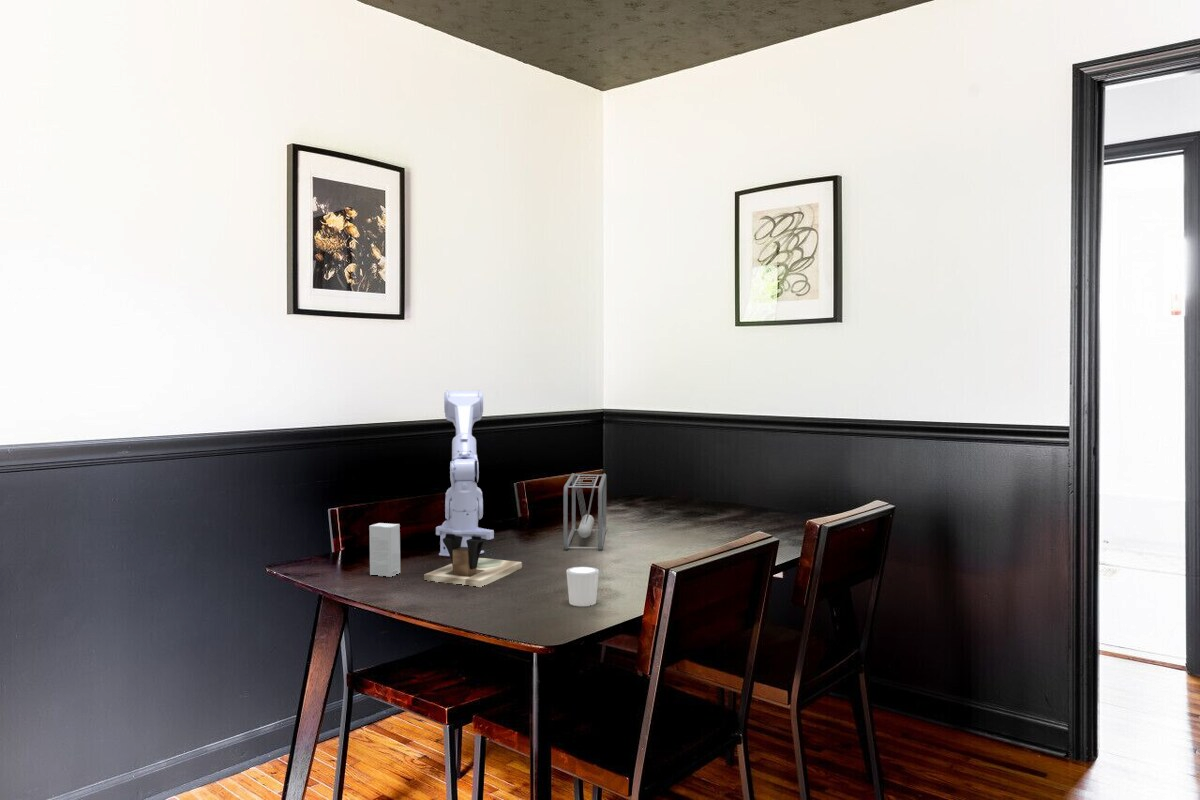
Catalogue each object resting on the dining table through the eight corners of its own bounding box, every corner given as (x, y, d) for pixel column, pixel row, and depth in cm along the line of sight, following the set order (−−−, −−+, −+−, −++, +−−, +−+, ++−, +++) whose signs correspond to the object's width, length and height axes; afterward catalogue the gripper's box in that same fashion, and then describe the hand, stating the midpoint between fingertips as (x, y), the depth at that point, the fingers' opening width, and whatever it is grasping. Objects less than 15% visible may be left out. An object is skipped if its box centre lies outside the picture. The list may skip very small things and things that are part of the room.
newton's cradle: (572, 530, 259) (572, 472, 259) (606, 530, 259) (606, 472, 258) (563, 551, 229) (563, 485, 229) (602, 552, 229) (602, 486, 228)
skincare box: (401, 573, 204) (400, 523, 203) (391, 577, 200) (390, 527, 199) (379, 571, 206) (378, 522, 205) (368, 575, 202) (368, 525, 201)
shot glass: (565, 598, 182) (565, 566, 182) (597, 598, 183) (597, 565, 183) (567, 607, 175) (567, 573, 175) (600, 606, 176) (600, 573, 176)
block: (452, 579, 198) (452, 549, 198) (461, 575, 202) (461, 546, 202) (467, 581, 197) (467, 551, 196) (476, 577, 200) (476, 548, 200)
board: (424, 580, 197) (424, 573, 197) (469, 562, 215) (469, 556, 215) (480, 587, 191) (480, 579, 191) (521, 568, 210) (521, 561, 210)
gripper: (428, 510, 198) (428, 568, 198) (483, 514, 192) (483, 574, 193) (445, 505, 204) (445, 561, 205) (498, 509, 199) (498, 567, 199)
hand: (464, 567), depth 199 cm, fingers closed on block, 4 cm apart
